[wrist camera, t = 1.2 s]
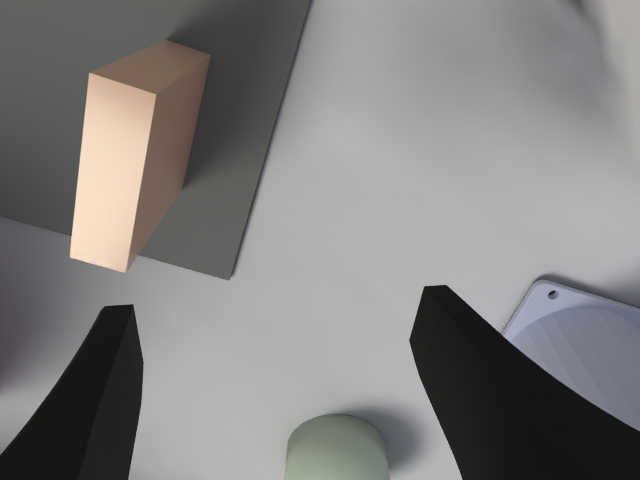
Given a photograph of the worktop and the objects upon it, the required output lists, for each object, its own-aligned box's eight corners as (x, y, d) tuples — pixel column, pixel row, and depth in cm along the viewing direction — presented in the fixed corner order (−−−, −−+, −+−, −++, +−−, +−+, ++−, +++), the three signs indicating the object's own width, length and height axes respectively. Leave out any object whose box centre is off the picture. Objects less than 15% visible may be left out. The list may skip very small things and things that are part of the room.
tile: (211, 54, 20) (156, 94, 14) (182, 189, 23) (125, 272, 17) (161, 38, 20) (83, 71, 14) (138, 176, 22) (64, 255, 16)
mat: (318, -27, 19) (318, -27, 19) (230, 277, 25) (229, 280, 25) (-211, -223, 17) (-219, -226, 16) (-160, 166, 23) (-166, 168, 23)
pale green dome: (401, 427, 30) (409, 480, 27) (365, 489, 33) (369, 544, 30) (304, 402, 29) (300, 453, 26) (275, 468, 32) (269, 521, 29)
